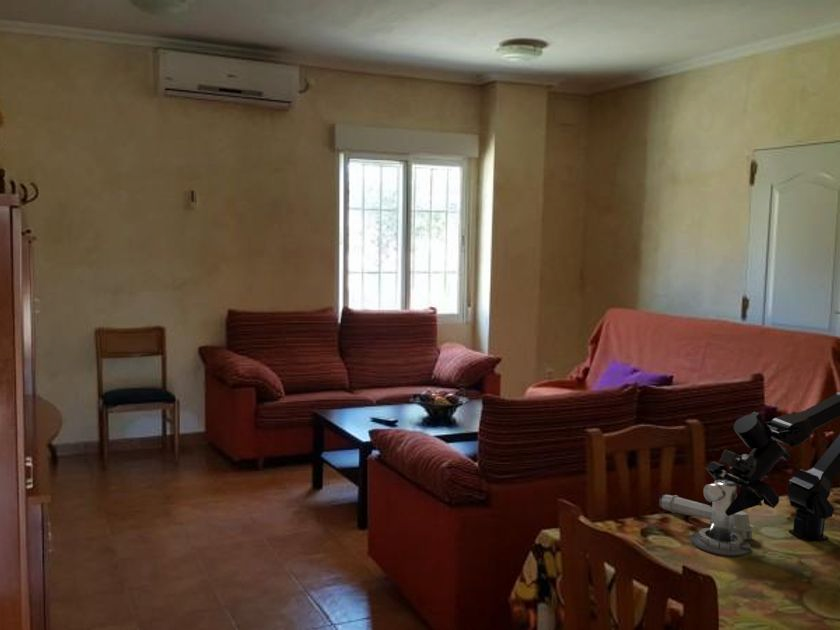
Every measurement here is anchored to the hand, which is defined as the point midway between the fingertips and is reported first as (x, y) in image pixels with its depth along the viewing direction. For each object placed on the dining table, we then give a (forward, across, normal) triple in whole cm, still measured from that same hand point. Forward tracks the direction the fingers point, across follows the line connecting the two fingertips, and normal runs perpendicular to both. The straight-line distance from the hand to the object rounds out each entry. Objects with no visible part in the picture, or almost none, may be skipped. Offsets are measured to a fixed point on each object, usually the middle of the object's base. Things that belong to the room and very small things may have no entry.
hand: (718, 510), depth 182 cm
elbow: (+4, 0, +6) cm, 7 cm away
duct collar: (+5, 0, +7) cm, 9 cm away
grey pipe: (+1, -12, +11) cm, 17 cm away
